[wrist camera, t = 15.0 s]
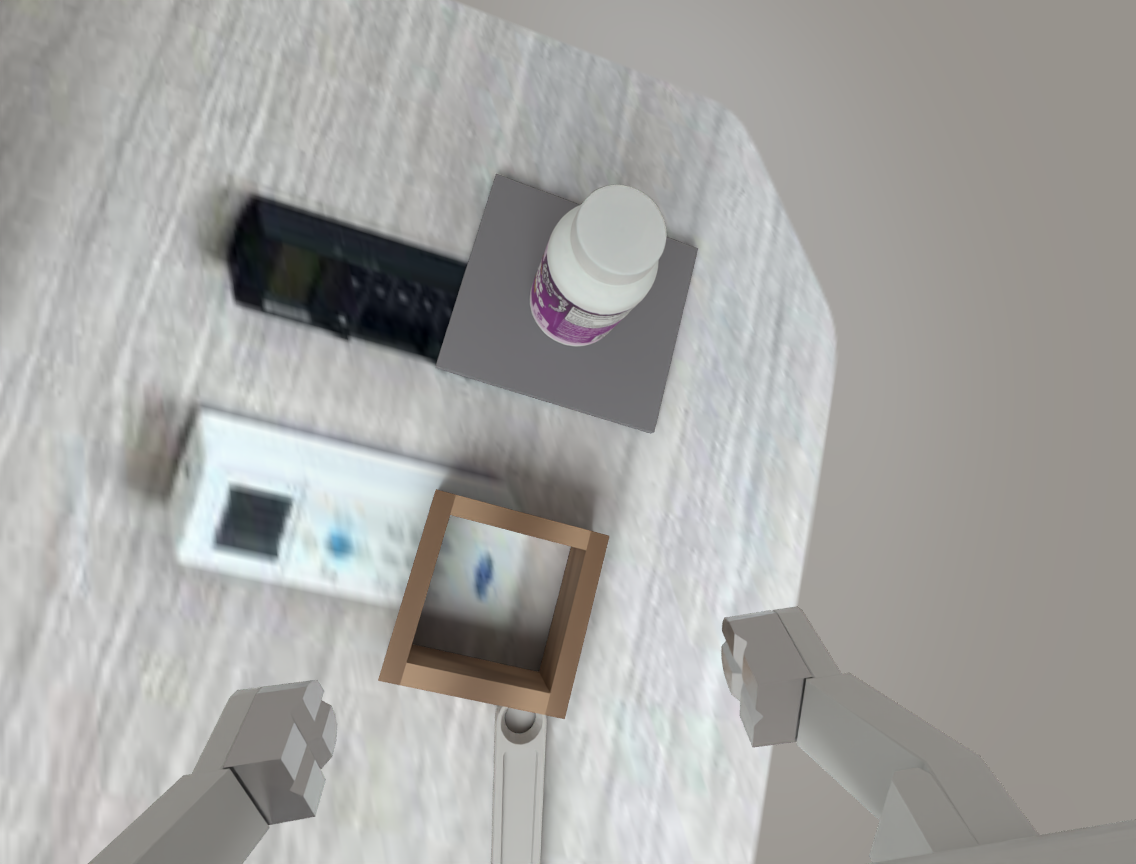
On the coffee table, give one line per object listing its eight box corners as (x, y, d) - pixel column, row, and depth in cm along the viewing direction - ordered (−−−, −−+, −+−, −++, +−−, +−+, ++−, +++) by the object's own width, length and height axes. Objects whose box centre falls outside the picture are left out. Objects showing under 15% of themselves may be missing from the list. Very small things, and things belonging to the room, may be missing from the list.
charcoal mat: (436, 367, 31) (435, 365, 31) (495, 179, 33) (496, 173, 33) (650, 433, 33) (654, 432, 33) (694, 252, 36) (698, 248, 35)
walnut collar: (386, 659, 29) (378, 680, 26) (437, 490, 31) (436, 489, 27) (551, 694, 31) (564, 719, 27) (592, 532, 32) (609, 535, 29)
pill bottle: (524, 259, 33) (556, 162, 23) (612, 261, 34) (676, 169, 24) (530, 350, 32) (565, 288, 23) (620, 349, 33) (688, 290, 24)
